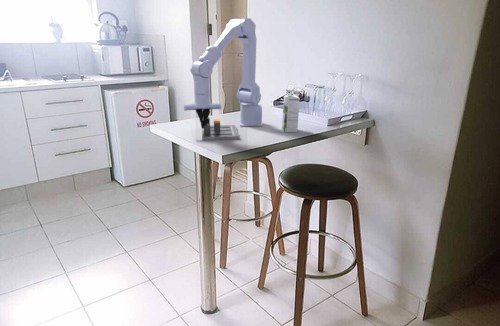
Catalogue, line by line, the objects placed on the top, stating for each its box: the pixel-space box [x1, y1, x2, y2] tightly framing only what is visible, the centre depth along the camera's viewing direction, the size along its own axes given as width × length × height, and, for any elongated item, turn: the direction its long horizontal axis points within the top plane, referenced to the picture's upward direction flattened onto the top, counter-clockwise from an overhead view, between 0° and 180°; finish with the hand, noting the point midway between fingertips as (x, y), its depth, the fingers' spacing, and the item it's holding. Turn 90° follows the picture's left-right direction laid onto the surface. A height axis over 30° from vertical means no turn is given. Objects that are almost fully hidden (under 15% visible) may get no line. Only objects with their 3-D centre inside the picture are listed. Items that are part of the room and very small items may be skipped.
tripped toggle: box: [213, 118, 221, 131], centre depth 144 cm, size 2×3×4 cm
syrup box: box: [281, 94, 301, 133], centre depth 149 cm, size 6×6×14 cm
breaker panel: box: [201, 116, 240, 141], centre depth 145 cm, size 14×18×5 cm
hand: (203, 127), depth 144 cm, fingers closed
